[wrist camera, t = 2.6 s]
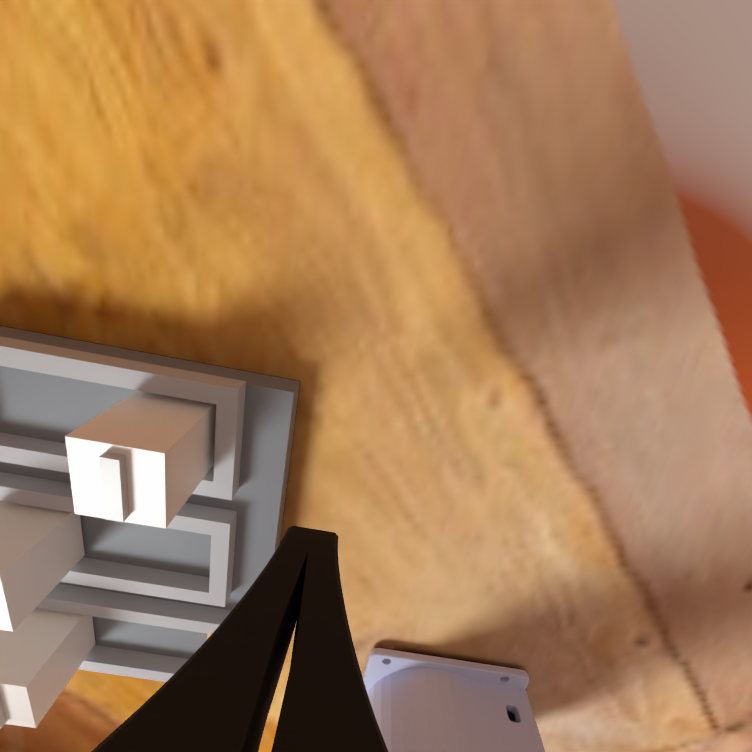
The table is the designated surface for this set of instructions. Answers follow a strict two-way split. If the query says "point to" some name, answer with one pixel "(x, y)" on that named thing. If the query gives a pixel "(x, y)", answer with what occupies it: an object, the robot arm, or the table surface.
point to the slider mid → (34, 556)
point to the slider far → (40, 663)
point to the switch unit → (140, 542)
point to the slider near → (141, 458)
